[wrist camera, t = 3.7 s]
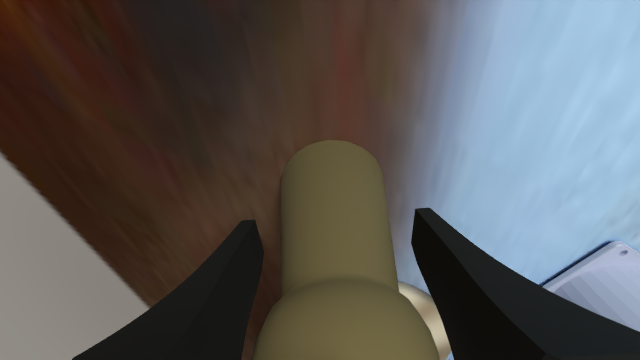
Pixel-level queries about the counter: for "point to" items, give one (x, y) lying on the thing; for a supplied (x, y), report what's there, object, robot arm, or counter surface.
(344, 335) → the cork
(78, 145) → the counter surface
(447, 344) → the birch stand
